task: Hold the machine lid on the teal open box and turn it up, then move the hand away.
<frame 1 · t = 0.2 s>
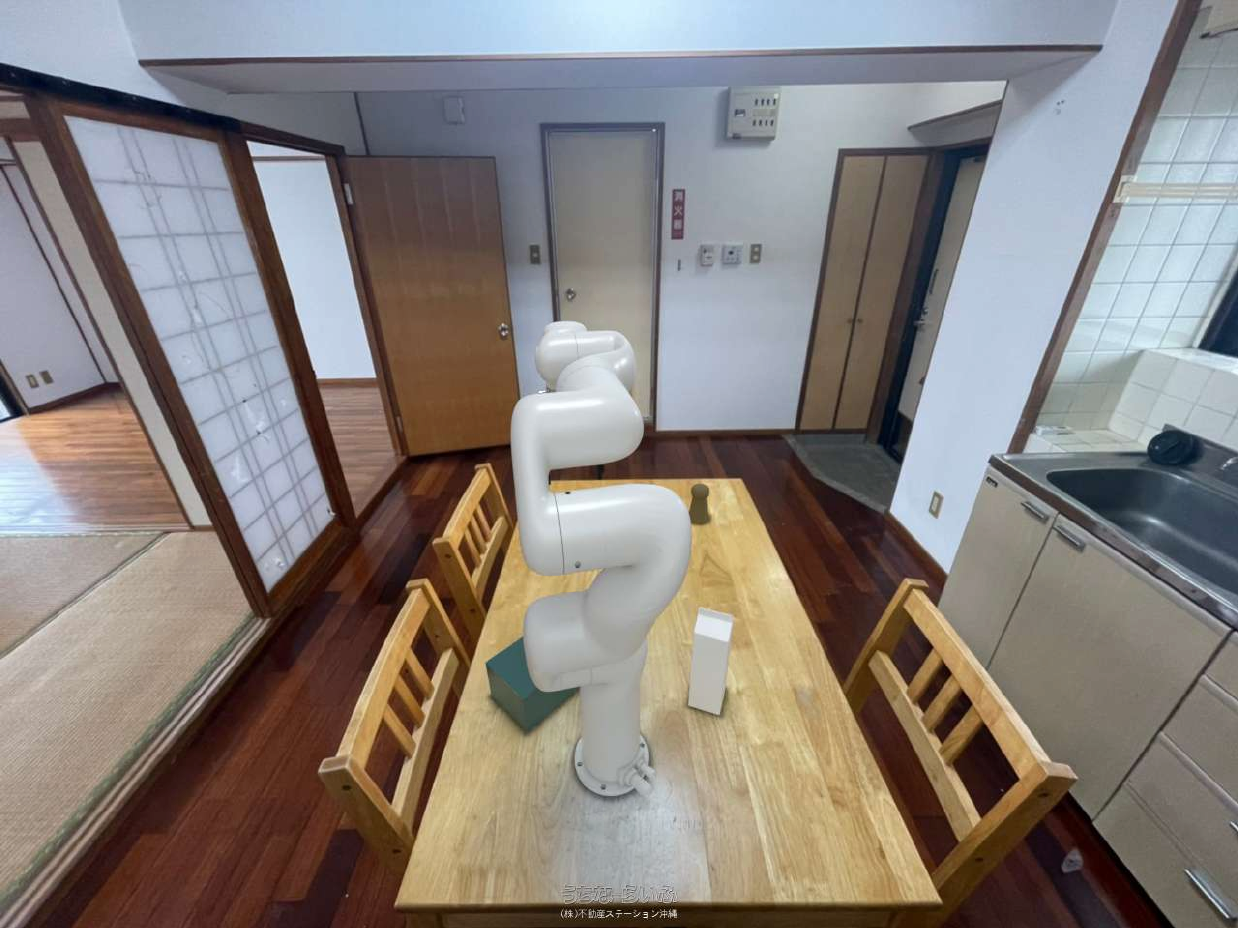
hand: (573, 479, 99), 37 cm above the table, tool pointing down, fingers open, 9 cm apart
sandwich container: (581, 554, 138), on the table
machine lid: (534, 648, 95), point 11 cm above the table, hinge at 0.0°
teal open box: (537, 690, 100), on the table
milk: (706, 698, 98), on the table
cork: (698, 518, 152), on the table
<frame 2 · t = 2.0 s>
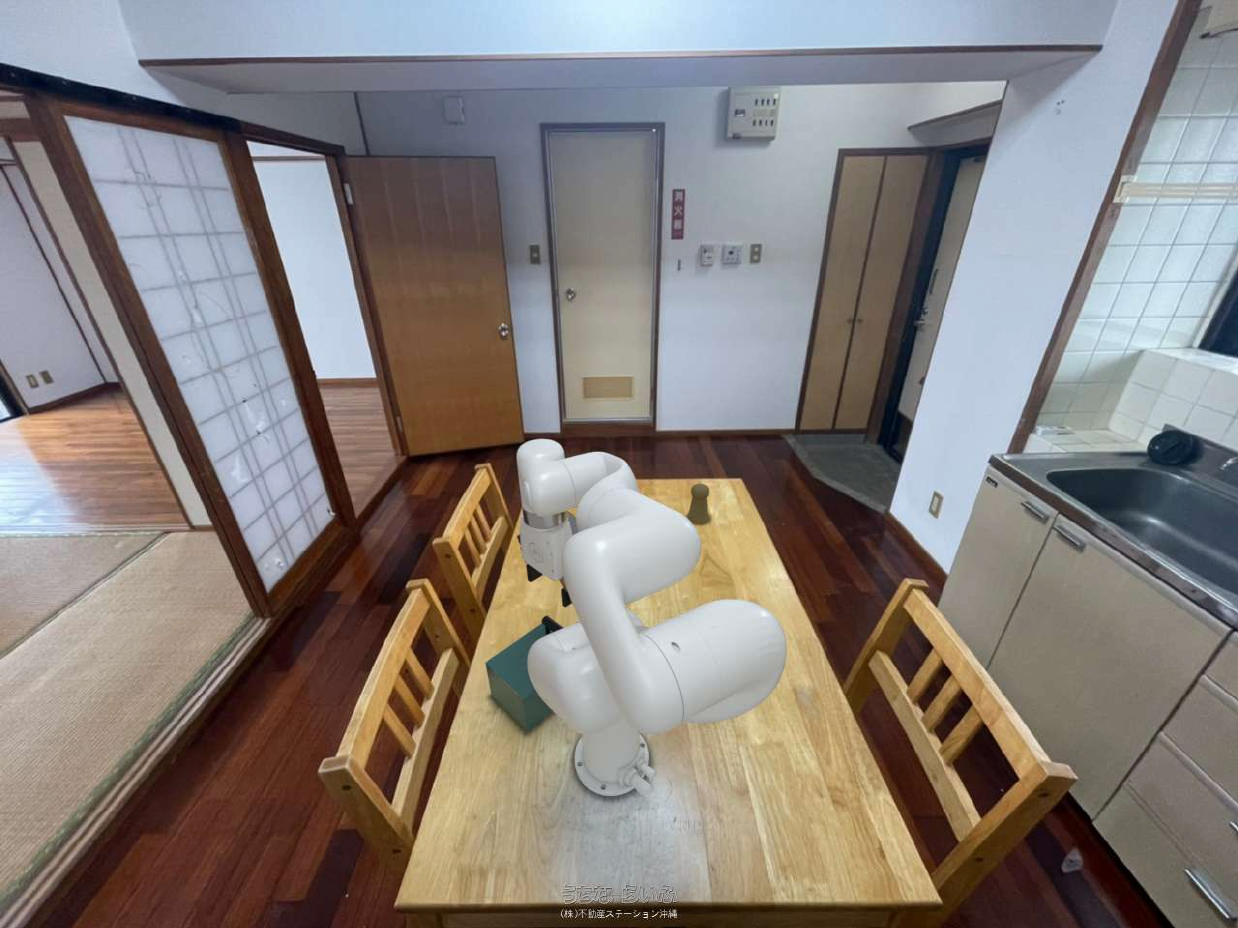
hand: (552, 590, 94), 21 cm above the table, tool pointing down, fingers open, 9 cm apart
nothing on the table moved.
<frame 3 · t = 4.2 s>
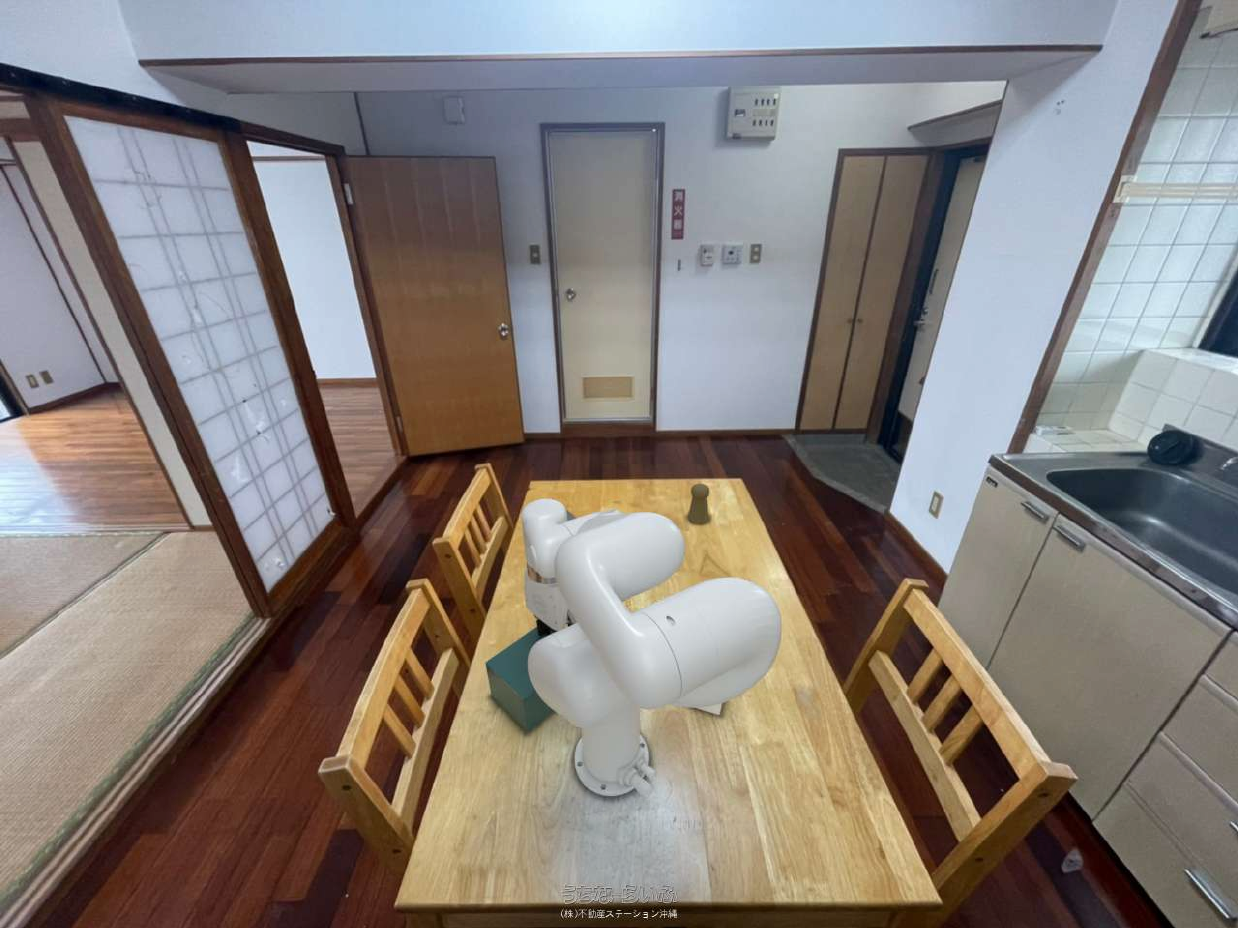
hand: (555, 639, 99), 10 cm above the table, tool pointing down, fingers closed on machine lid, 5 cm apart
machine lid: (534, 648, 95), point 11 cm above the table, hinge at 0.0°, touching gripper
everything else where it was.
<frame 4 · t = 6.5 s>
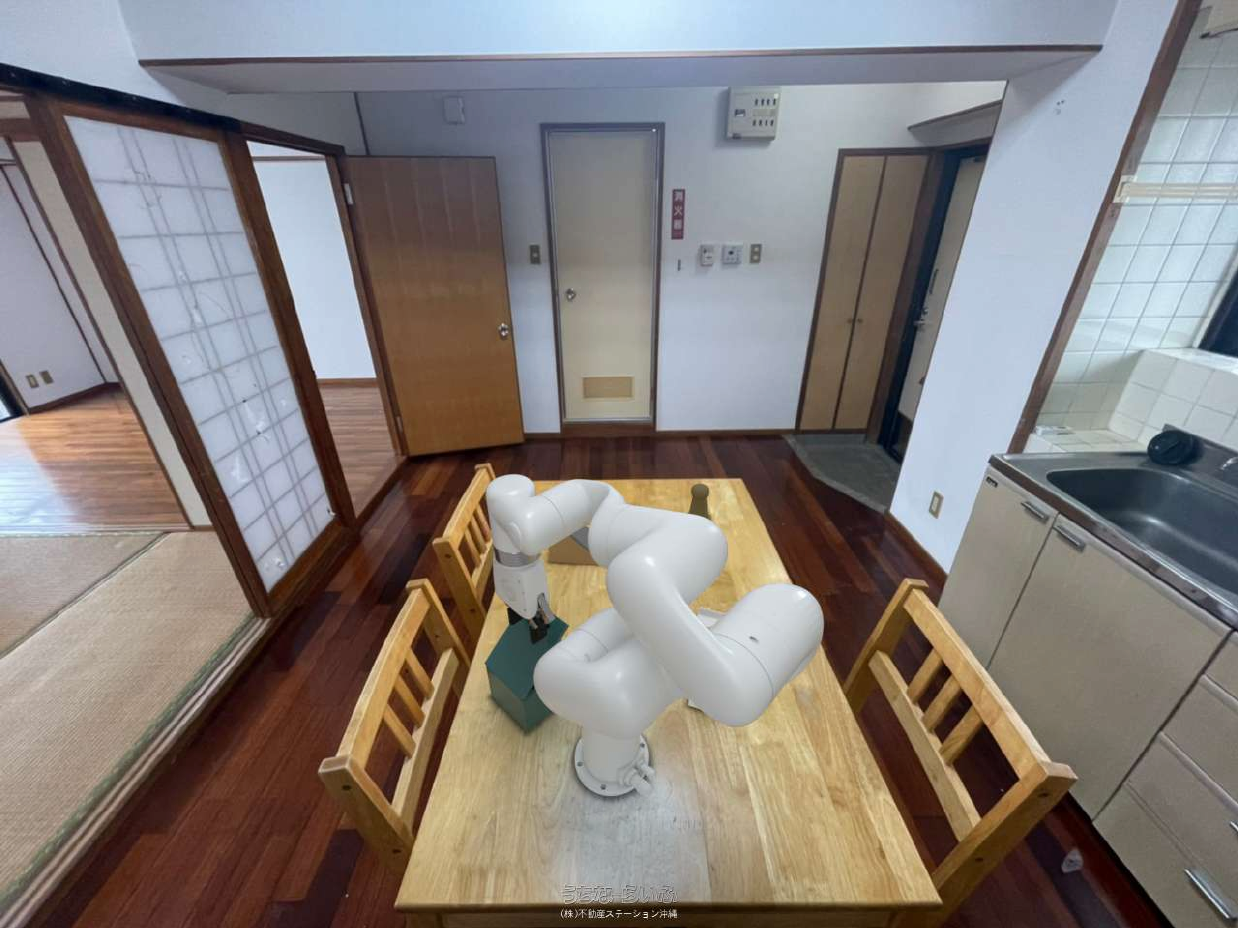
hand: (527, 629, 92), 17 cm above the table, tool pointing down, fingers closed on machine lid, 5 cm apart
machine lid: (518, 642, 91), point 15 cm above the table, hinge at 39.6°, touching gripper
everything else where it was.
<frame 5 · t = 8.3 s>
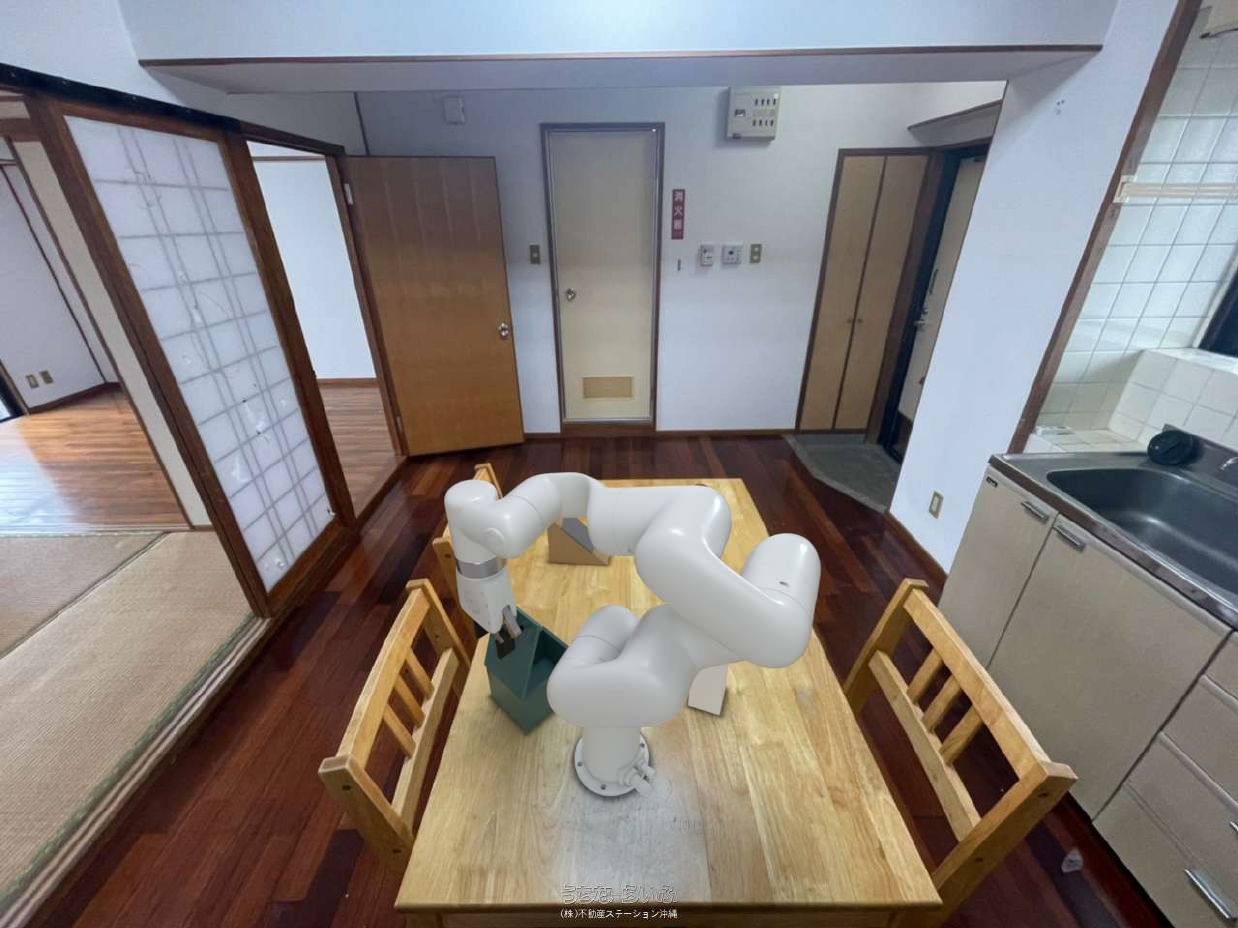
hand: (495, 642, 87), 18 cm above the table, tool pointing down, fingers closed on machine lid, 5 cm apart
machine lid: (500, 649, 88), point 16 cm above the table, hinge at 69.5°, touching gripper
everything else where it was.
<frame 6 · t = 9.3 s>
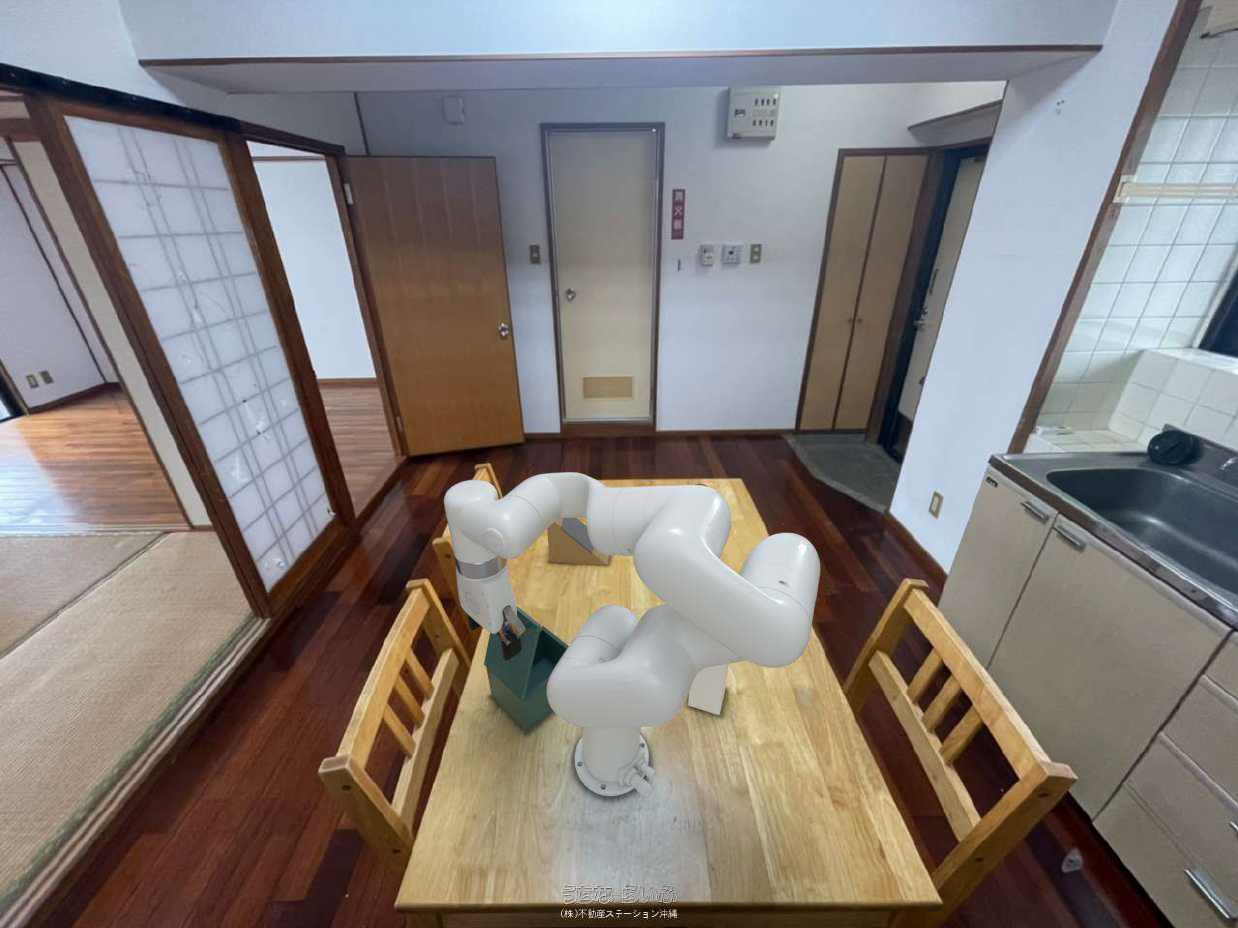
hand: (495, 639, 87), 19 cm above the table, tool pointing down, fingers open, 9 cm apart
machine lid: (500, 649, 88), point 16 cm above the table, hinge at 69.6°
everything else where it was.
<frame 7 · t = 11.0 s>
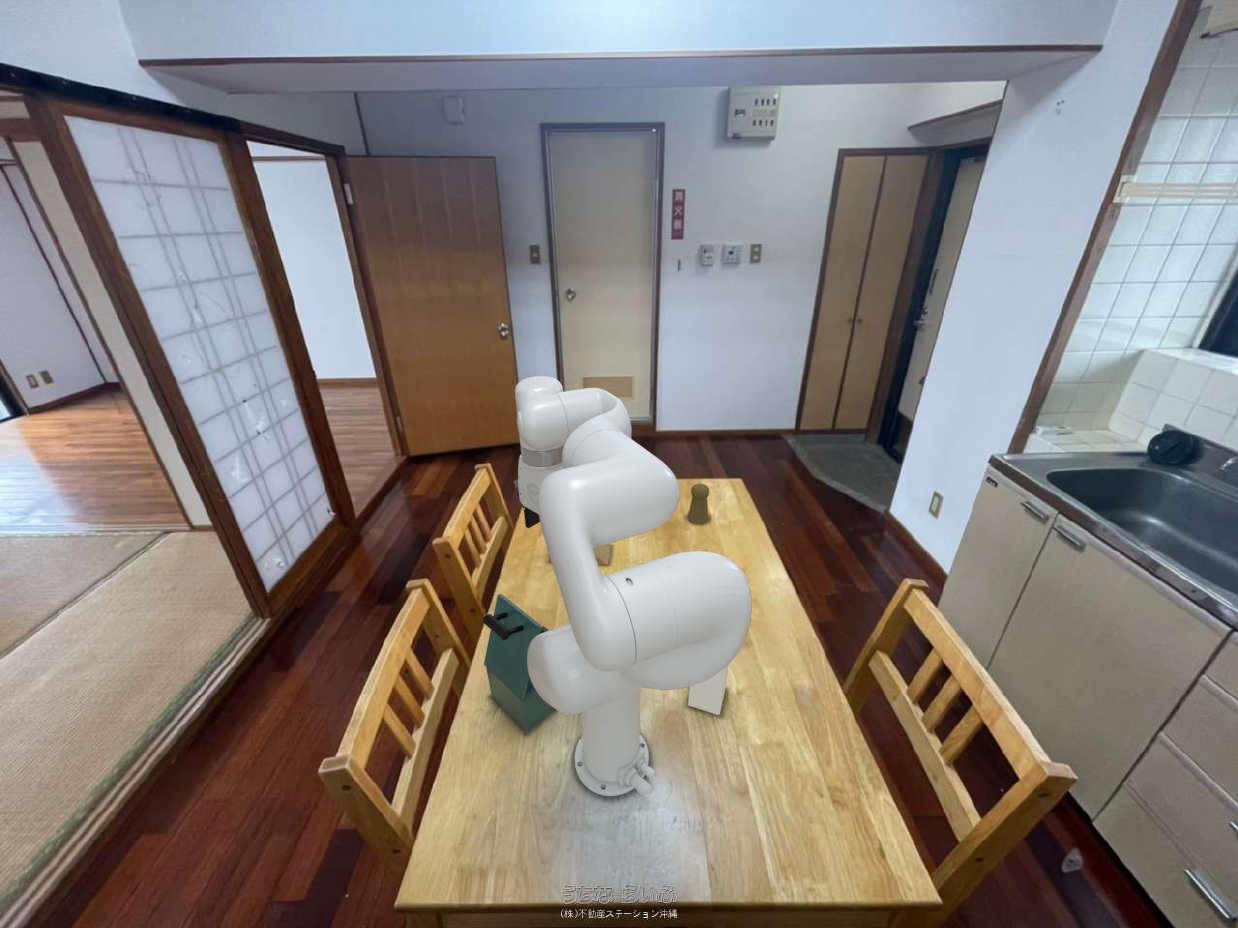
hand: (550, 534, 94), 30 cm above the table, tool pointing down, fingers open, 9 cm apart
nothing on the table moved.
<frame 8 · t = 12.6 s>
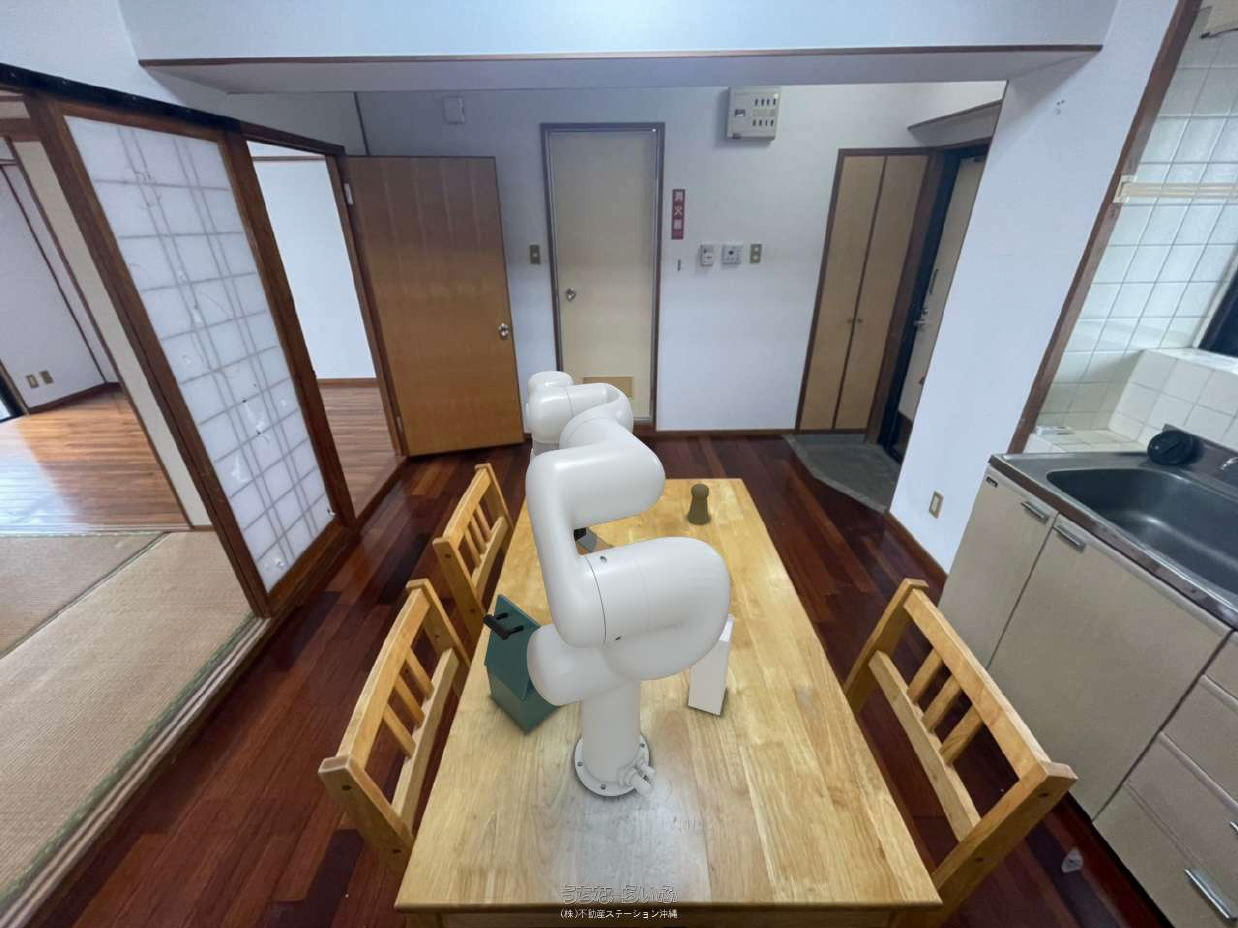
hand: (561, 527, 96), 30 cm above the table, tool pointing down, fingers open, 9 cm apart
nothing on the table moved.
at the end: machine lid at +70° (first picture: +0°); the gripper is holding nothing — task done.
